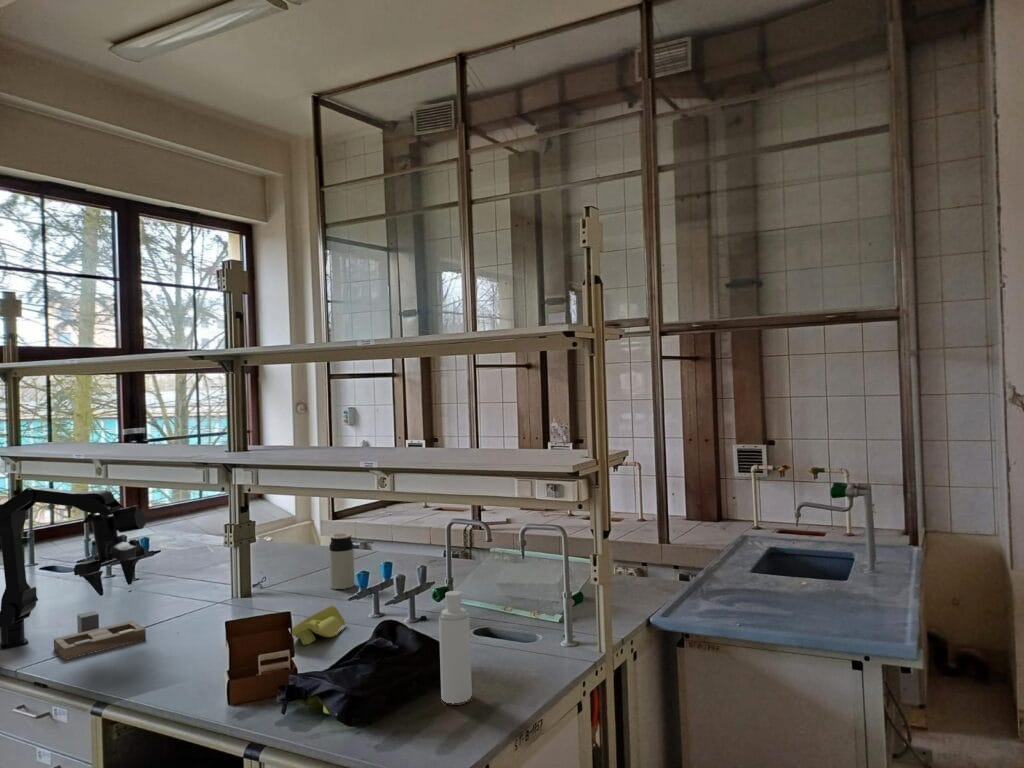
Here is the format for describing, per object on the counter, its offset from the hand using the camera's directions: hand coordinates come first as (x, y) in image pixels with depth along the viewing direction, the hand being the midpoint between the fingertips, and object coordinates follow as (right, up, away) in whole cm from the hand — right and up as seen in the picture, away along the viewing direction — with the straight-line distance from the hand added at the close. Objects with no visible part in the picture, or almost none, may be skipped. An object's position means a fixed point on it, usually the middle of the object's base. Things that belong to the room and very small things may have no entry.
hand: (116, 589), depth 207 cm
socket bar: (-2, -14, -4) cm, 15 cm away
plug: (-11, -14, +5) cm, 19 cm away
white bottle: (+99, -11, -46) cm, 110 cm away
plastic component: (+57, -13, -3) cm, 58 cm away
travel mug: (+53, -12, +47) cm, 72 cm away
